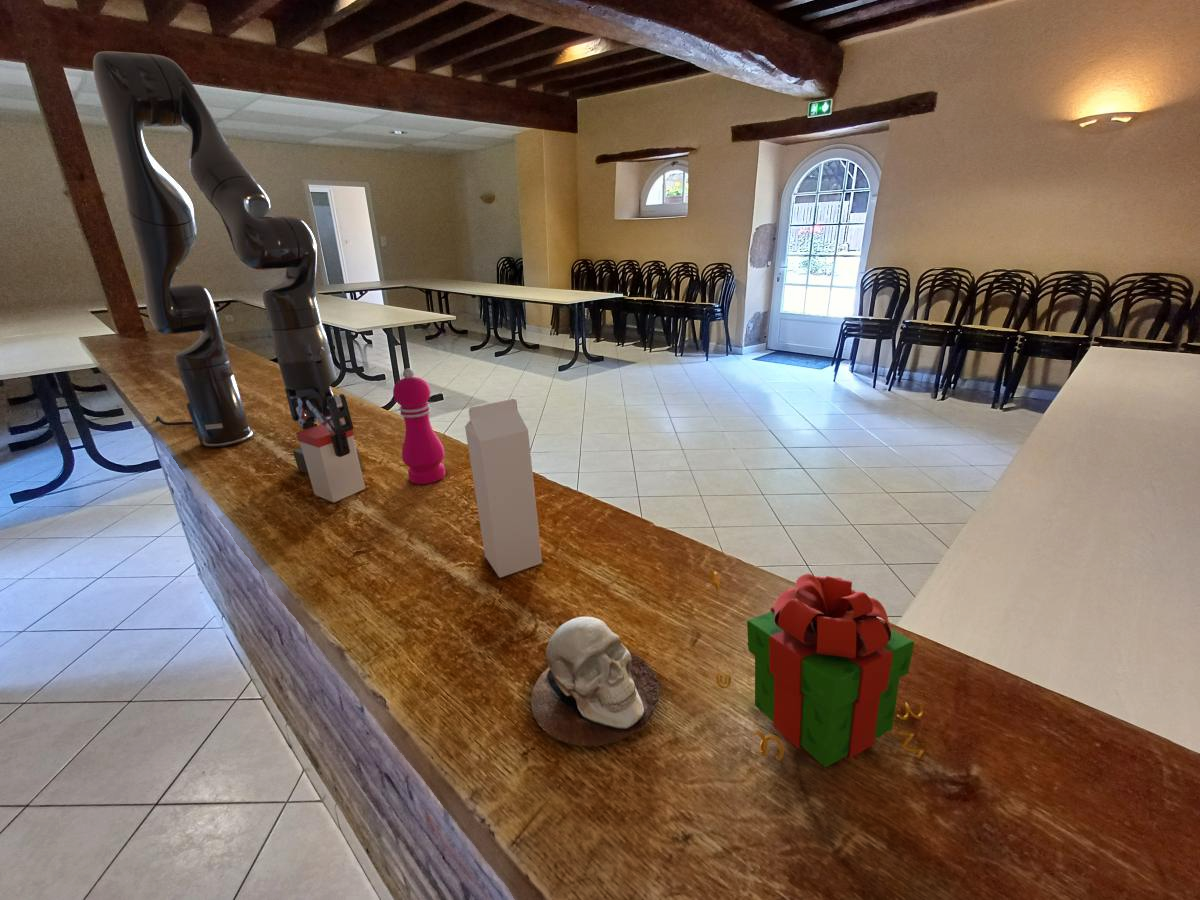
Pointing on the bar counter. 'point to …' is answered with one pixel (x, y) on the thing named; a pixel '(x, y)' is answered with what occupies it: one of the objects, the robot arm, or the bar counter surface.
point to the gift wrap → (827, 669)
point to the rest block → (302, 464)
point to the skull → (592, 686)
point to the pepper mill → (418, 430)
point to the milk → (504, 486)
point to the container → (330, 464)
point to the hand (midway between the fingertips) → (328, 450)
